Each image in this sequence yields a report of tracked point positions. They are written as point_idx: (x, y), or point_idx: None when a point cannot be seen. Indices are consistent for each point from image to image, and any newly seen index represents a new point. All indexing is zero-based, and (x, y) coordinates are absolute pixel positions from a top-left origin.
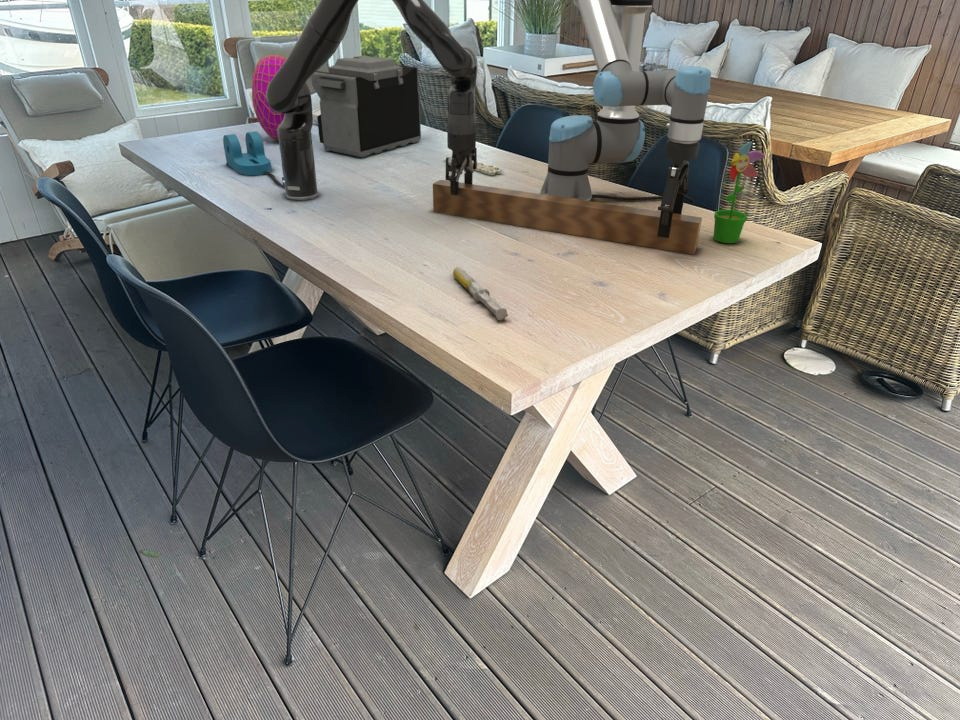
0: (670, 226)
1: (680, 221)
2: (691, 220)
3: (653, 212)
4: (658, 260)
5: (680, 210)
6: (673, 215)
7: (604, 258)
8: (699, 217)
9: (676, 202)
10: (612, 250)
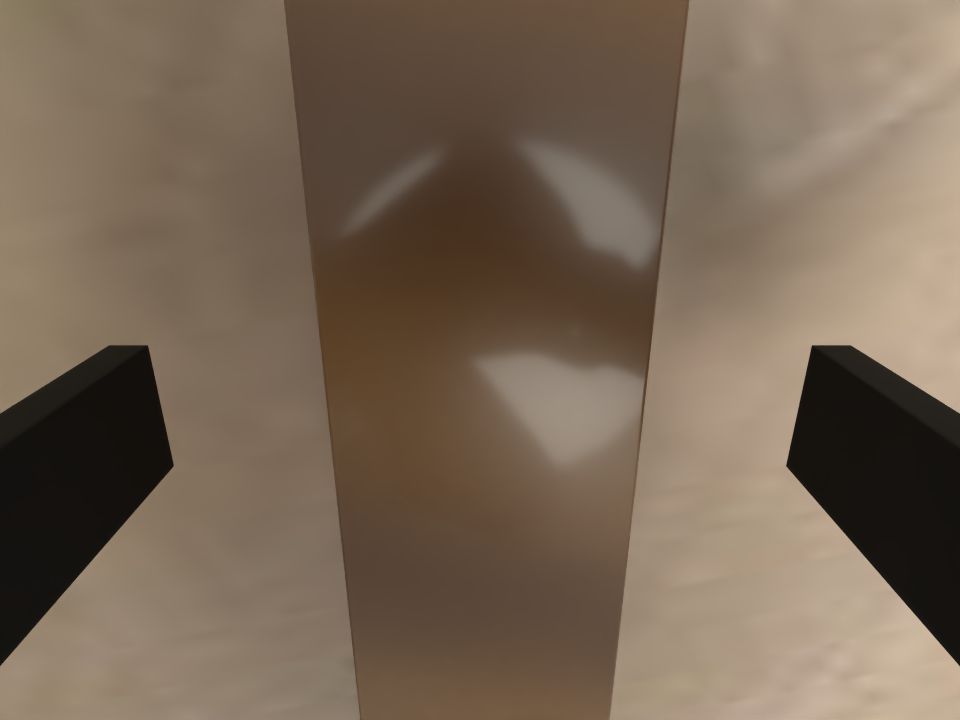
0: (950, 413)
1: (651, 322)
2: (593, 146)
3: (454, 703)
4: (834, 320)
5: (64, 422)
6: (452, 471)
7: (892, 647)
8: (324, 23)
9: (1, 573)
10: (721, 640)
